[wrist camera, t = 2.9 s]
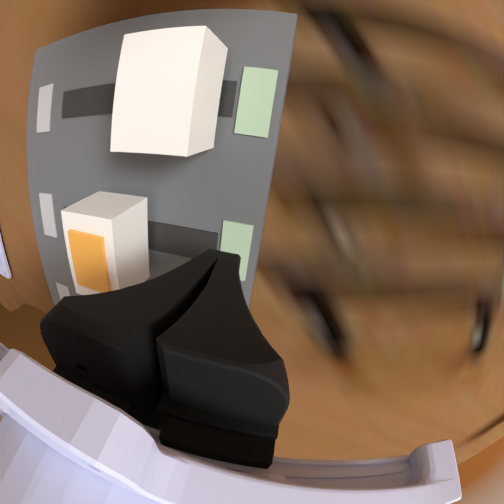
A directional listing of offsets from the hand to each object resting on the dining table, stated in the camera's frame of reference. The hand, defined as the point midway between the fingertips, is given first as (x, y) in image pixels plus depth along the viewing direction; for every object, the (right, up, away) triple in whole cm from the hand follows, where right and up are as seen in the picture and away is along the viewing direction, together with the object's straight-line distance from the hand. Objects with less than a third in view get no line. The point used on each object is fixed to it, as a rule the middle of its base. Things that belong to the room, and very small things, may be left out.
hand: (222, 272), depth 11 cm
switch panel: (-6, +3, +4) cm, 8 cm away
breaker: (-1, +7, -2) cm, 8 cm away
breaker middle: (-5, +2, +2) cm, 6 cm away
